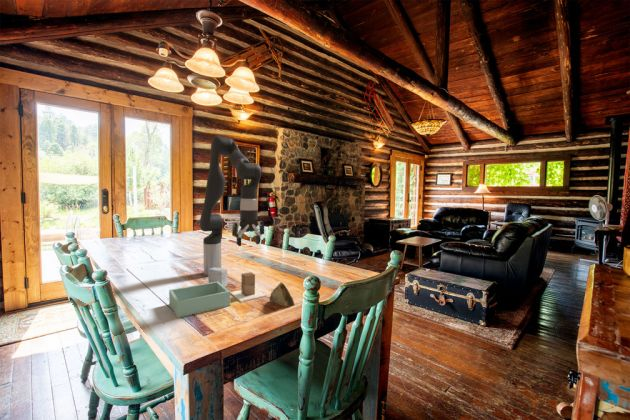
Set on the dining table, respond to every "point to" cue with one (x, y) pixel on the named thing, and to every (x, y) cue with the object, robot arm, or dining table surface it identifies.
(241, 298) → the plate
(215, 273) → the medicine box
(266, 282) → the dining table surface
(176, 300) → the box frame
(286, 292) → the rock
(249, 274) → the oak block
